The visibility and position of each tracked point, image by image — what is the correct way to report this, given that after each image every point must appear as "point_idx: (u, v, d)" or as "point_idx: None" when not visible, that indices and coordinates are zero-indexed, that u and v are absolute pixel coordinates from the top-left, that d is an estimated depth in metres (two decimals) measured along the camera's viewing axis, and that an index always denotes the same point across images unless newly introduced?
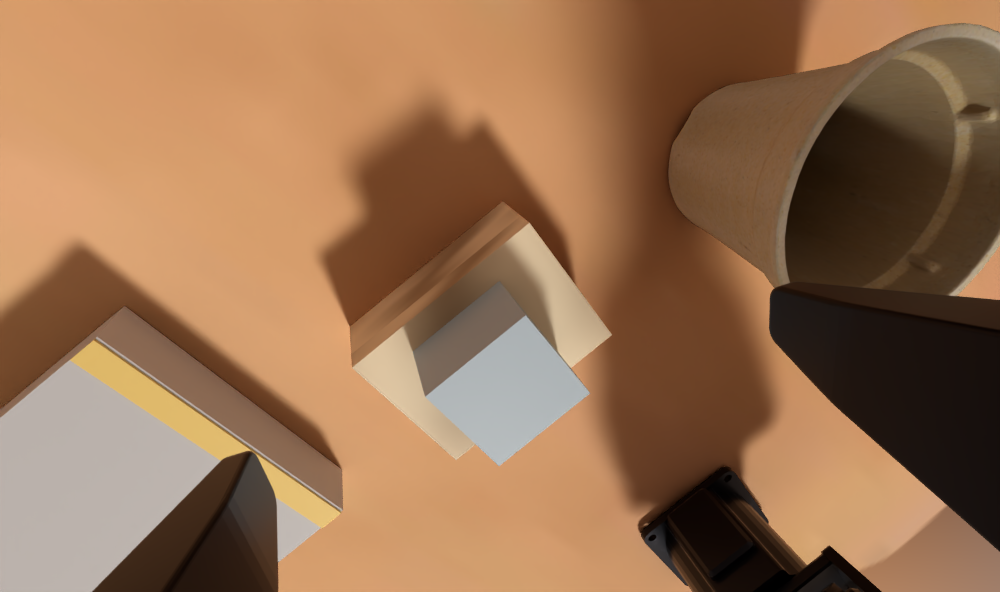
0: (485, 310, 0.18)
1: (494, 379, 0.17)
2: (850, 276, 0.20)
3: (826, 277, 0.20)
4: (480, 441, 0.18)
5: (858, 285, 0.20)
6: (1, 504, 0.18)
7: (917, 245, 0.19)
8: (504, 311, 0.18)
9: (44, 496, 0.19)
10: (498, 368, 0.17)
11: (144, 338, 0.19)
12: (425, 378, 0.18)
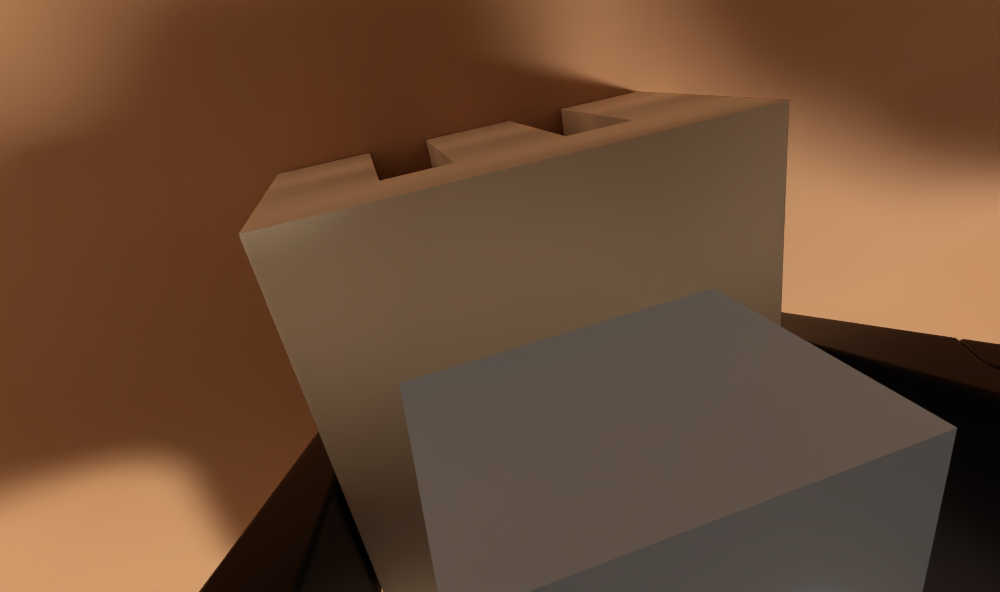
0: None
1: None
2: None
3: None
4: None
5: None
6: None
7: None
8: None
9: None
10: None
11: None
12: None
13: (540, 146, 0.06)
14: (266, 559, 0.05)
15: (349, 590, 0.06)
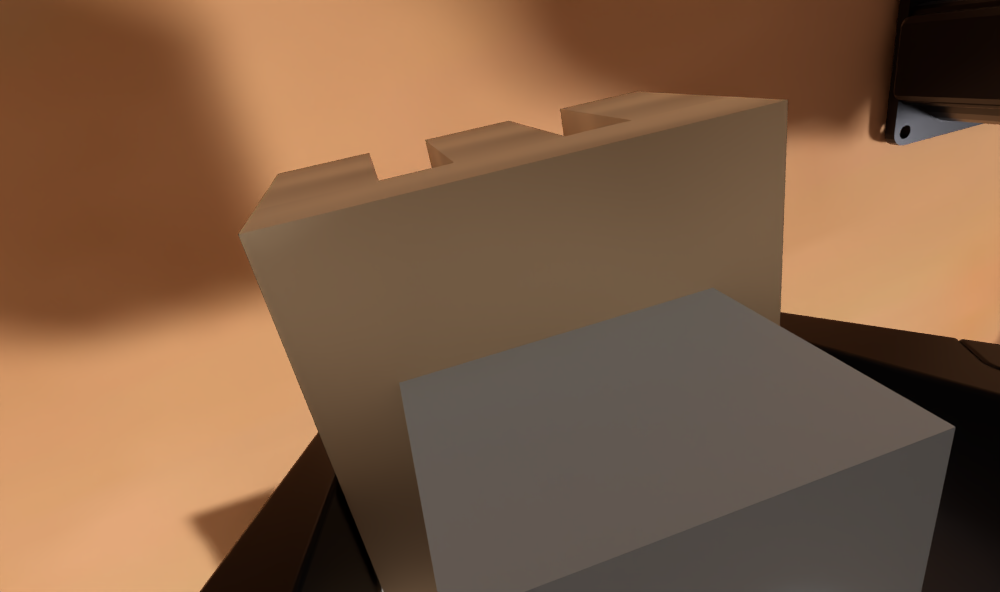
0: None
1: None
2: None
3: None
4: None
5: None
6: None
7: None
8: None
9: None
10: None
11: None
12: None
13: (539, 146, 0.06)
14: (267, 558, 0.05)
15: (350, 590, 0.06)
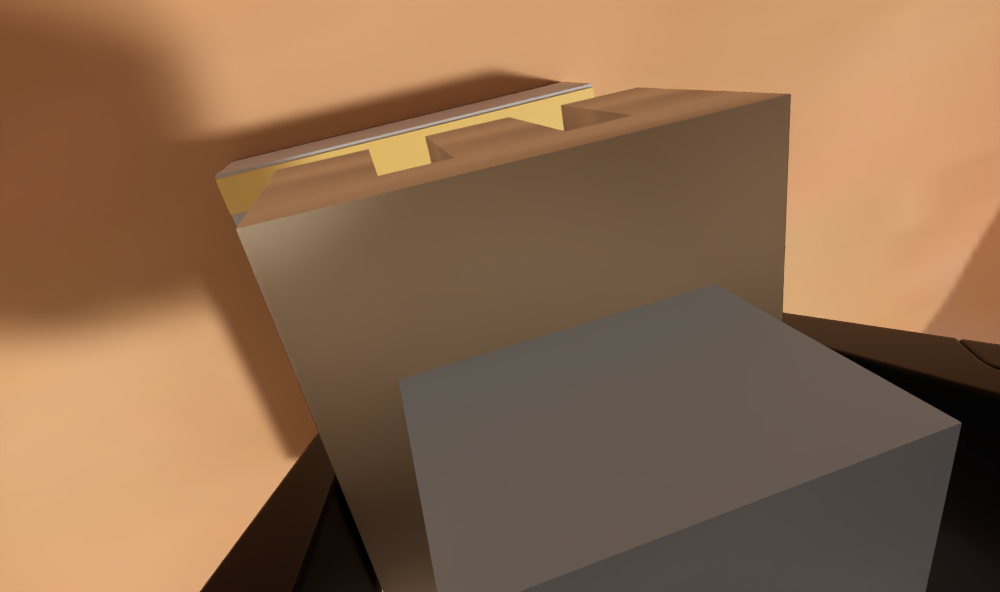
0: None
1: None
2: None
3: None
4: None
5: None
6: None
7: None
8: None
9: None
10: None
11: (265, 156, 0.16)
12: None
13: (540, 141, 0.06)
14: (267, 559, 0.05)
15: (350, 590, 0.06)
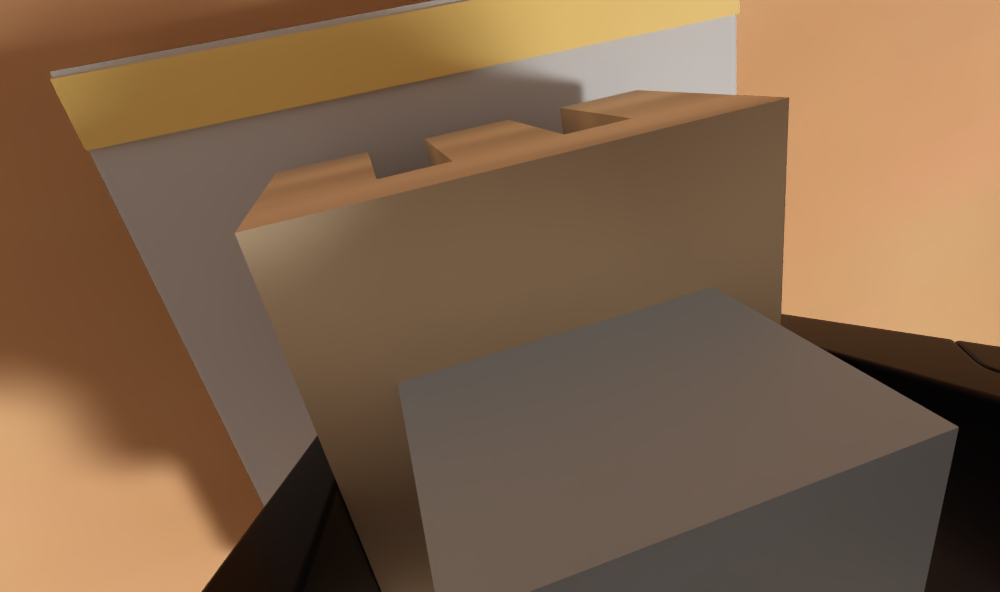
0: None
1: None
2: None
3: None
4: None
5: None
6: None
7: None
8: None
9: None
10: None
11: None
12: None
13: (538, 144, 0.06)
14: (269, 558, 0.05)
15: (352, 589, 0.06)
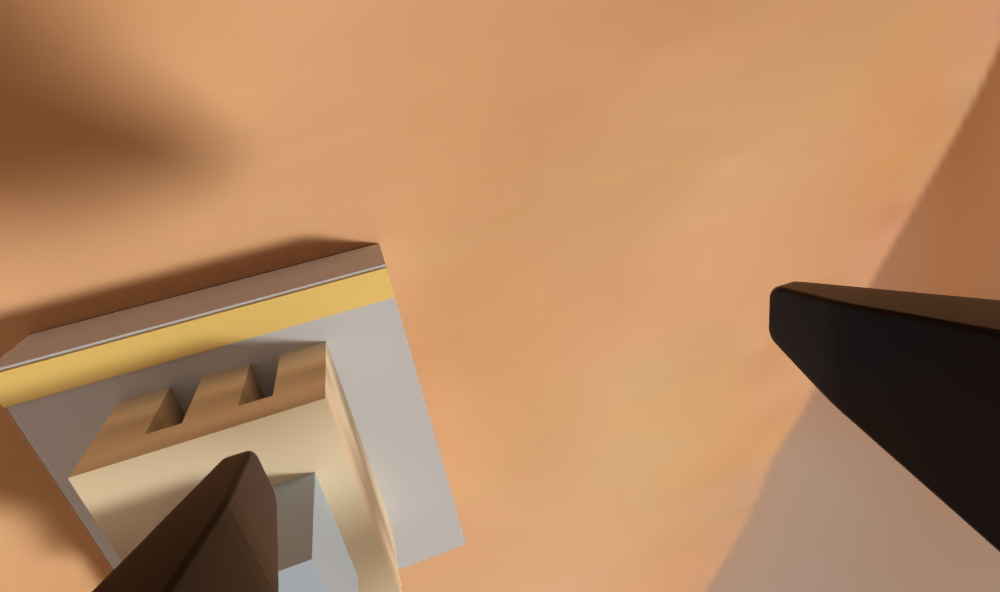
0: None
1: None
2: None
3: None
4: None
5: None
6: None
7: None
8: None
9: None
10: None
11: (55, 336, 0.16)
12: None
13: (219, 416, 0.14)
14: None
15: None
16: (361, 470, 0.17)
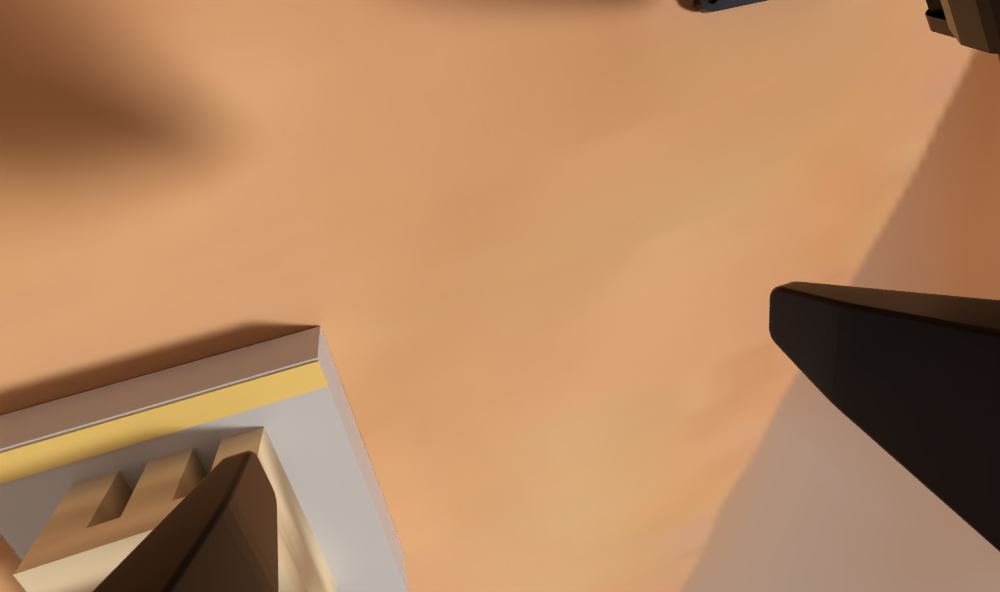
0: None
1: None
2: None
3: None
4: None
5: None
6: None
7: None
8: None
9: None
10: None
11: (16, 422, 0.18)
12: None
13: (153, 512, 0.15)
14: None
15: None
16: (294, 547, 0.18)
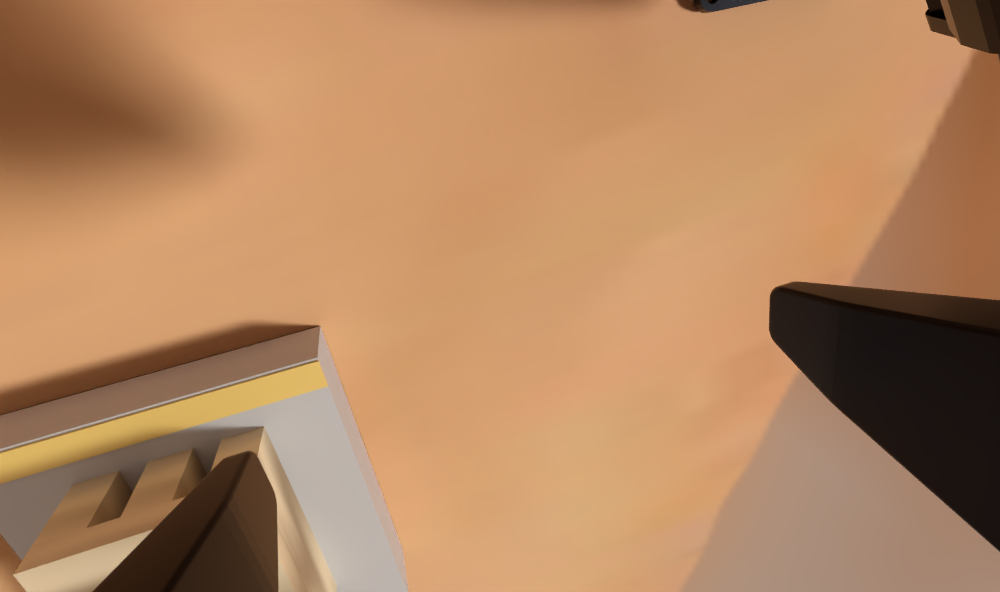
0: None
1: None
2: None
3: None
4: None
5: None
6: None
7: None
8: None
9: None
10: None
11: (16, 422, 0.18)
12: None
13: (153, 512, 0.15)
14: None
15: None
16: (294, 547, 0.18)
